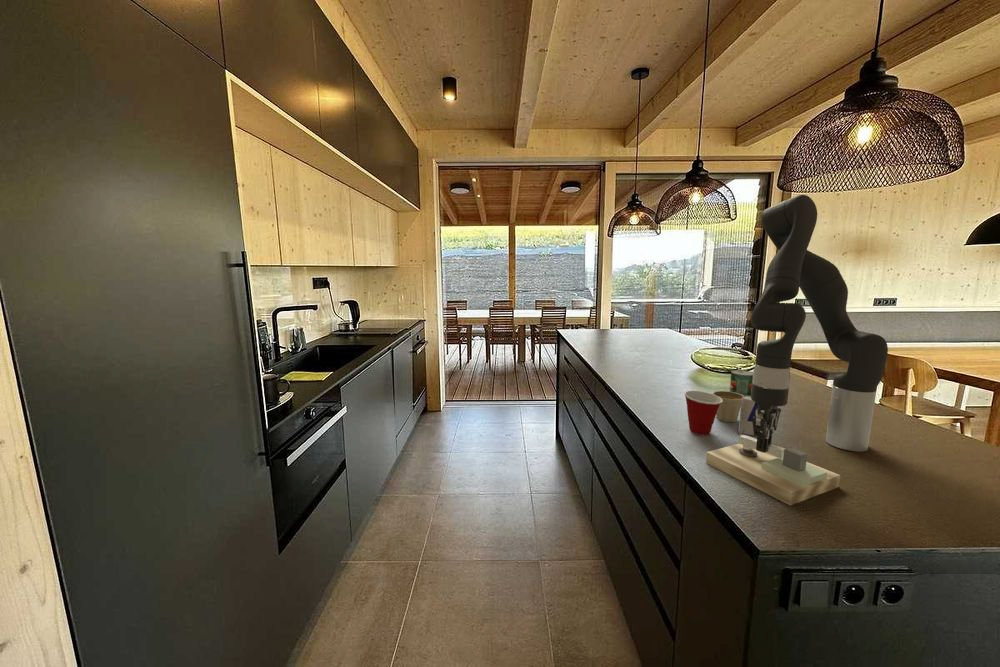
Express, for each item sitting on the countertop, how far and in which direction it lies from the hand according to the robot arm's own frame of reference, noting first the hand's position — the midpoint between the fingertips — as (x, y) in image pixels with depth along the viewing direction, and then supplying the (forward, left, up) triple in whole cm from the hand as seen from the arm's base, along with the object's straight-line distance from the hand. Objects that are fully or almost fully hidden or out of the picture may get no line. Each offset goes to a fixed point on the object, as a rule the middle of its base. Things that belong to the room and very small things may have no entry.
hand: (763, 449), depth 99 cm
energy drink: (-18, -16, -6) cm, 24 cm away
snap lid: (0, +7, -3) cm, 8 cm away
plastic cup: (-7, -24, -6) cm, 25 cm away
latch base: (0, +2, -6) cm, 6 cm away
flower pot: (-24, -28, -6) cm, 37 cm away
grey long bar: (0, -1, -2) cm, 2 cm away
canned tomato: (-48, -40, -6) cm, 62 cm away
